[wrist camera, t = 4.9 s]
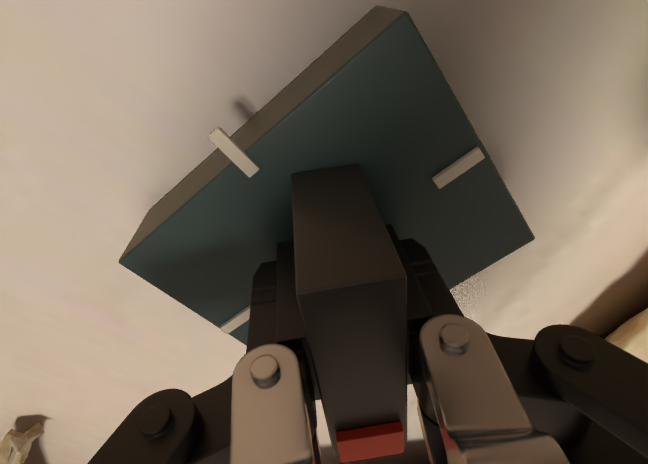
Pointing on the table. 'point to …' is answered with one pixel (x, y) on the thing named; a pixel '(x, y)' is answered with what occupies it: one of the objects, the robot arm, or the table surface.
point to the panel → (329, 152)
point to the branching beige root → (18, 445)
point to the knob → (352, 311)
